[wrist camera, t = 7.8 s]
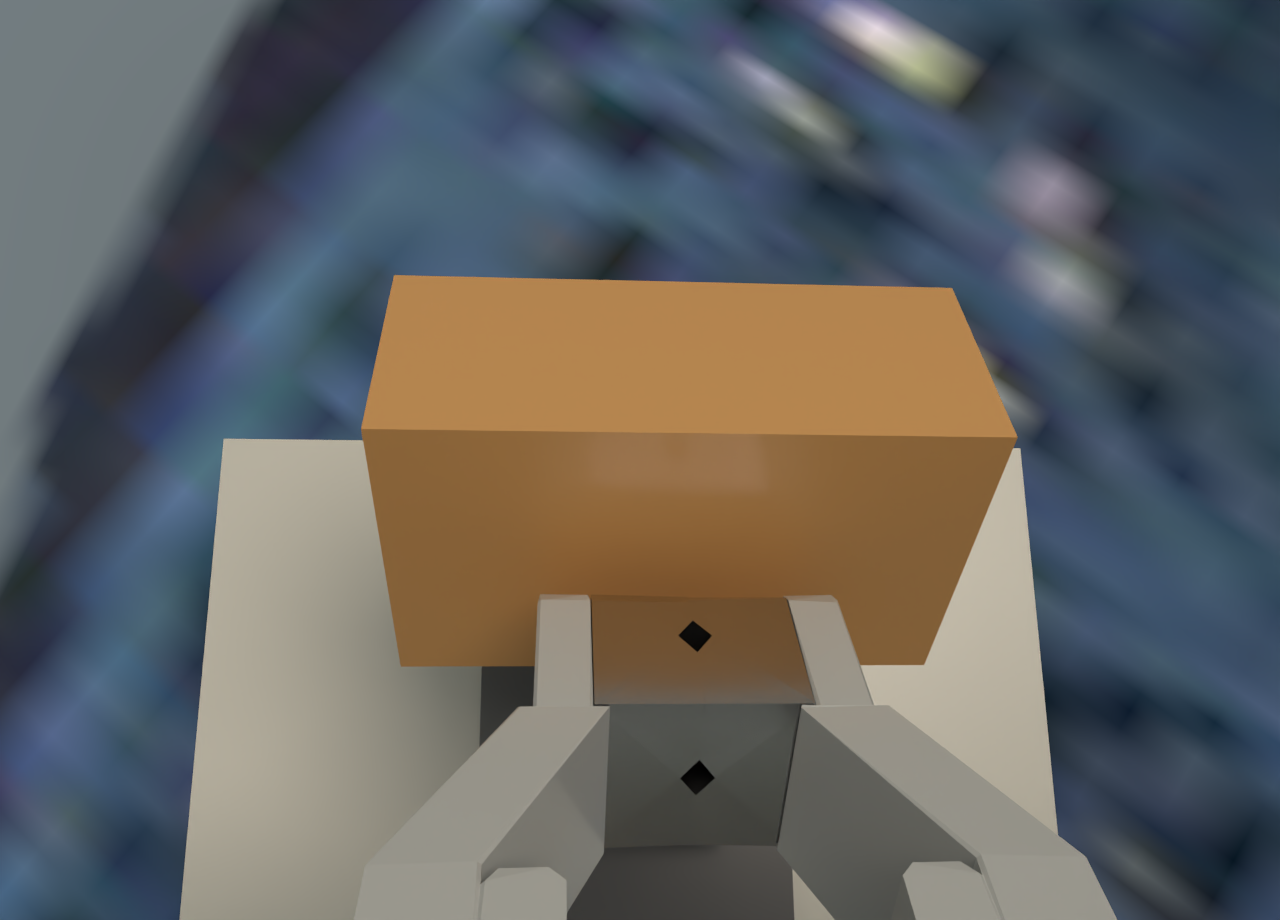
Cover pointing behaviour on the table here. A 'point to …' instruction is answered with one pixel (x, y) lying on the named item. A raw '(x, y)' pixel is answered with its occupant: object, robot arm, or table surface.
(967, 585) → the block
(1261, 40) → the table surface
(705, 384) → the lever
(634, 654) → the robot arm
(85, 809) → the table surface
